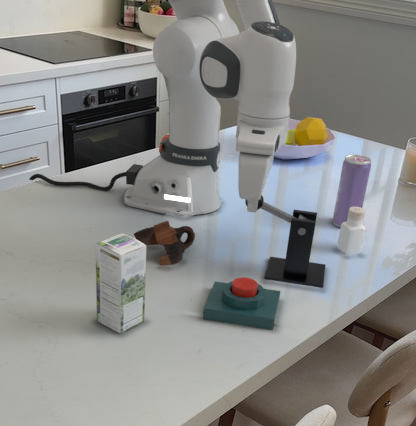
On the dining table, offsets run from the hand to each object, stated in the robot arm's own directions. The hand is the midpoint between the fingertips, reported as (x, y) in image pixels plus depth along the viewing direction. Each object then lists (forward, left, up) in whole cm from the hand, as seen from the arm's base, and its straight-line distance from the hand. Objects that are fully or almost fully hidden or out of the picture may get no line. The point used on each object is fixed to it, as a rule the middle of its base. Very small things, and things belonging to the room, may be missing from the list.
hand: (253, 206), depth 123 cm
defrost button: (+1, -16, -9) cm, 19 cm away
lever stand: (+9, 0, -13) cm, 16 cm away
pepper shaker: (+19, +14, -13) cm, 27 cm away
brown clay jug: (-17, 0, -13) cm, 21 cm away
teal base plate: (+1, -16, -13) cm, 21 cm away
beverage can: (+18, +29, -13) cm, 37 cm away
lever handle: (+4, 0, -2) cm, 5 cm away
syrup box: (-18, -26, -13) cm, 34 cm away
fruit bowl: (0, +75, -13) cm, 76 cm away
